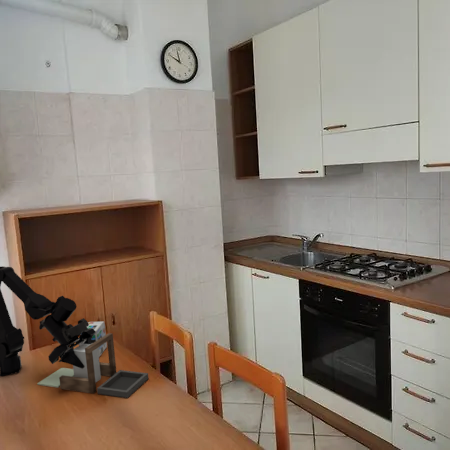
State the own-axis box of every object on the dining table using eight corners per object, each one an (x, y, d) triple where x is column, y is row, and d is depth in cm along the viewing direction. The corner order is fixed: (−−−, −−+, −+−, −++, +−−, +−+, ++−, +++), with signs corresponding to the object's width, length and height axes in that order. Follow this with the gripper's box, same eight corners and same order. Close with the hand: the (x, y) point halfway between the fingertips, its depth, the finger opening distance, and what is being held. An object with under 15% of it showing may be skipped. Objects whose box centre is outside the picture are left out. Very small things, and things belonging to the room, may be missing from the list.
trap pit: (97, 394, 144) (96, 388, 143) (120, 375, 156) (120, 369, 155) (127, 398, 140) (126, 392, 139) (148, 378, 152) (148, 373, 151)
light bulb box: (99, 357, 172) (96, 330, 170) (82, 358, 172) (79, 331, 170) (107, 346, 182) (104, 320, 181) (90, 347, 182) (88, 321, 181)
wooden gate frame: (60, 388, 149) (55, 345, 147) (85, 371, 161) (81, 330, 159) (93, 393, 144) (88, 348, 142) (116, 375, 156) (112, 333, 154)
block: (75, 384, 151) (71, 350, 149) (86, 376, 156) (82, 343, 155) (90, 386, 149) (86, 352, 147) (101, 378, 154) (97, 344, 153)
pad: (37, 384, 153) (37, 383, 152) (61, 369, 164) (61, 367, 164) (58, 387, 150) (57, 386, 150) (81, 371, 161) (81, 370, 161)
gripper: (51, 324, 142) (84, 360, 140) (88, 305, 159) (118, 337, 157) (34, 346, 146) (66, 382, 144) (72, 325, 163) (101, 357, 161)
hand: (89, 363), depth 151 cm, fingers closed on block, 6 cm apart
